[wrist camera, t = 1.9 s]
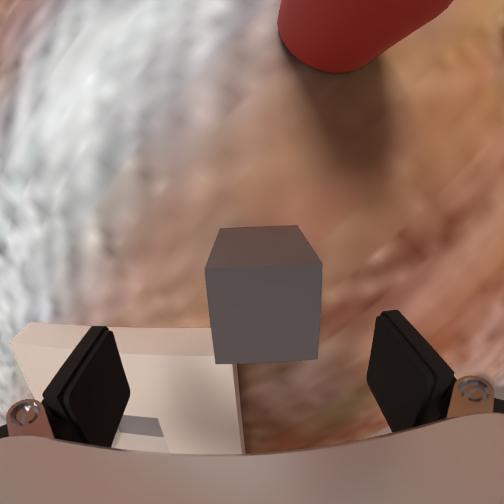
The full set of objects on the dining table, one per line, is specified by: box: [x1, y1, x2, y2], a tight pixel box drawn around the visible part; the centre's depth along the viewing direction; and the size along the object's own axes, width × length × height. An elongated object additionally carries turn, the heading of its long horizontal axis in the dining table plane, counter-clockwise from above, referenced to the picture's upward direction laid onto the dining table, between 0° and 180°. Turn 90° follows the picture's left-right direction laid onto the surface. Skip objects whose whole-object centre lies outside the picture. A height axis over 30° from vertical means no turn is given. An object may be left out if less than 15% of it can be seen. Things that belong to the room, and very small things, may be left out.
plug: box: [205, 225, 322, 364], centre depth 17 cm, size 5×5×8 cm
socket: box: [9, 322, 246, 454], centre depth 23 cm, size 18×18×4 cm
